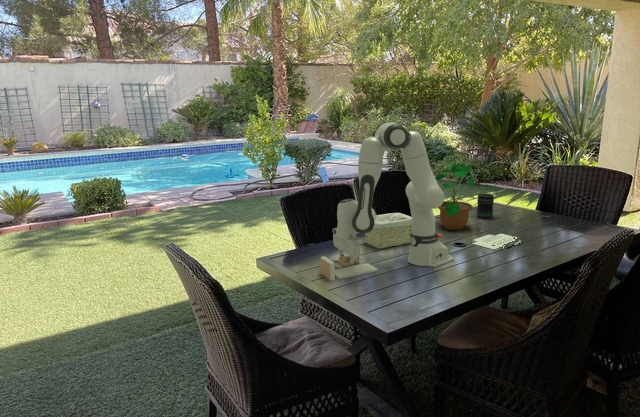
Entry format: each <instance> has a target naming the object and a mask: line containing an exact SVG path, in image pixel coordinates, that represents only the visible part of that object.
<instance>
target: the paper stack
mask: <svg viewBox="0 0 640 417" xmlns="http://www.w3.org/2000/svg"><path fill="white" fill-rule="evenodd" d="M512 236H513V237H512ZM514 237H515V239H517V237H518V236H515V235H509V234H506V233H505V234H504V233H499V234H496V235H493V234H489V233H488V234H486V235H483V236H480V237H477V238H474V239H473V240H472V241H473V242H472V243H471V245H476V246H478V247H483V248H488V249H491V250H494V249H496V250H498V249H500V248H499V247H502V246H503V245H504V244H507V243H509V242H512V241H515V239H513V238H514ZM521 242H522V240H519V241H518V242H516V243H515V244H514V245H515V246H517V245H519V243H520V244H522V243H521ZM492 245H495V246H492ZM504 246H505V245H504ZM504 246H503V248H502V249H504ZM497 248H498V249H497Z"/></svg>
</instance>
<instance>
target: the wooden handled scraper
mask: <svg viewBox="0 0 640 417" xmlns="http://www.w3.org/2000/svg"><path fill="white" fill-rule="evenodd" d="M350 258H351V257H350V255H344V257H340V256H339V257H338V262H336V263H335V262H334V263H335V270H336V269H341V268H344V267H349V266H354V265H357V264H358V265H359V264H360V256H358V257H355V259H354V263H353V264H350V263H349V260H350Z"/></svg>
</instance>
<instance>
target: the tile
mask: <svg viewBox="0 0 640 417" xmlns="http://www.w3.org/2000/svg"><path fill="white" fill-rule="evenodd" d="M335 270H336V269H335V261H332V260H331V259H329V258H328V257H327V256H324V255H323V256H321V257H320V273H321V274H322V275H323V276H324V277H325V278H327V279H328V280H329V281H335V280H336V276H335Z"/></svg>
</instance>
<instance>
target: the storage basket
mask: <svg viewBox="0 0 640 417" xmlns="http://www.w3.org/2000/svg"><path fill="white" fill-rule="evenodd" d="M411 232H412V216H410V215H407V214H405V213H401V212H392V213H384V214H376V218H375V222H374V228H373V229H372V231H370V232H369V233H366V234H364V238H365V239H364V240H365V243H366V244H368V245H369V246H372V247H374V248H377V249H384V248H385V249H386V248H390V247H395V246H396V247H397V246H402V245H407V244H411V240H410V237H411Z"/></svg>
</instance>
